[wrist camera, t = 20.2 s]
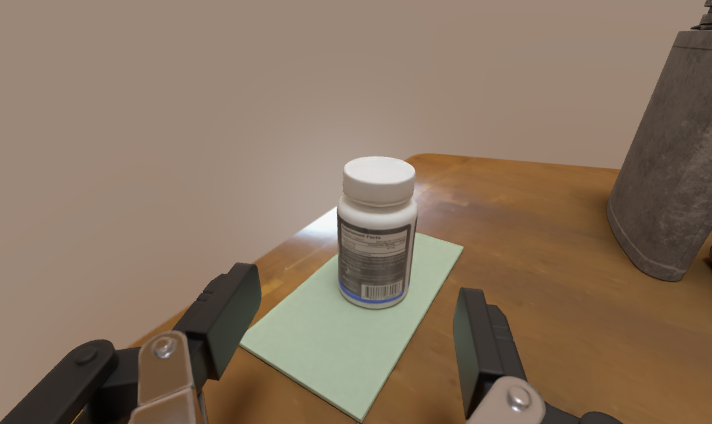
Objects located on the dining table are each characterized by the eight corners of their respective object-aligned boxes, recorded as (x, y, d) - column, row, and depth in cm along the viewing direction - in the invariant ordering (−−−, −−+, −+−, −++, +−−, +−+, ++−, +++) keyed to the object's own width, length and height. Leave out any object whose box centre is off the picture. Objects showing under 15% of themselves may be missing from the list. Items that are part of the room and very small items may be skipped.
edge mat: (361, 423, 15) (361, 420, 15) (236, 344, 18) (235, 340, 18) (463, 249, 27) (464, 246, 27) (375, 222, 30) (375, 219, 30)
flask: (625, 271, 25) (774, -25, 16) (596, 196, 36) (674, 0, 28) (688, 286, 23) (887, -28, 15) (637, 203, 35) (732, -1, 26)
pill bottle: (359, 256, 25) (362, 149, 21) (418, 277, 23) (434, 162, 19) (323, 294, 22) (319, 172, 18) (390, 322, 20) (402, 192, 16)
